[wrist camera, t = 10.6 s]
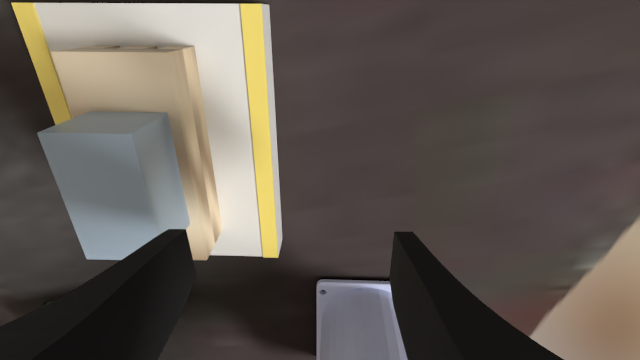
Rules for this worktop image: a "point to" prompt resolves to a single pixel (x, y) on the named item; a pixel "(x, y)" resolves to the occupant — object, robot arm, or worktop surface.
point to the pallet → (153, 96)
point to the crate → (117, 179)
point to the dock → (216, 86)
